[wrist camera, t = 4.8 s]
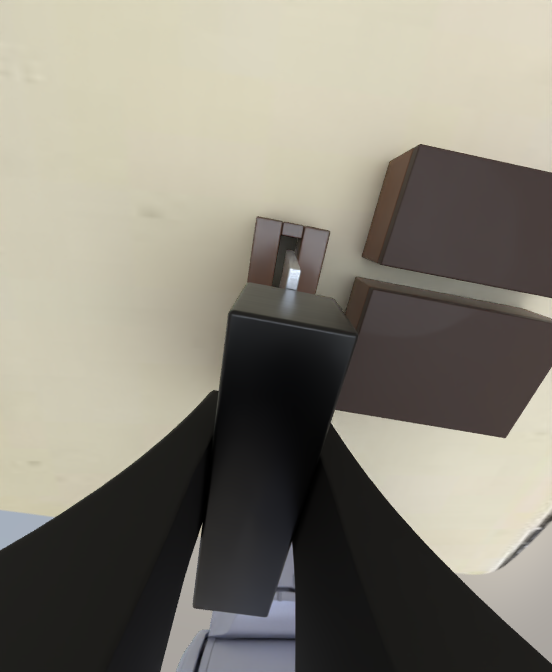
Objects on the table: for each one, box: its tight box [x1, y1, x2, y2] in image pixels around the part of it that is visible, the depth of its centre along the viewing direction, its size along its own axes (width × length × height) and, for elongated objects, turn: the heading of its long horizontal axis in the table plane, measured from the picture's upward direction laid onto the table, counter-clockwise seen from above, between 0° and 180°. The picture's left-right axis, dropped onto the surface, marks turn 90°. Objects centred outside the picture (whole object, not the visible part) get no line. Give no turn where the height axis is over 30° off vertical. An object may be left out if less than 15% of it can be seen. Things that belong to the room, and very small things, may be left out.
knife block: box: [247, 216, 330, 294], centre depth 17 cm, size 12×4×4 cm, turn 170°
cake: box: [335, 277, 552, 438], centre depth 17 cm, size 8×11×4 cm
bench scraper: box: [193, 249, 358, 617], centre depth 10 cm, size 10×2×8 cm, turn 169°
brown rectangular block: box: [362, 144, 552, 298], centre depth 14 cm, size 5×11×4 cm, turn 80°
